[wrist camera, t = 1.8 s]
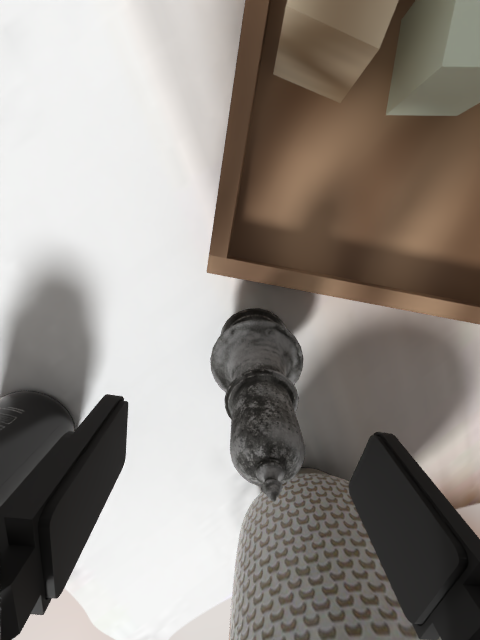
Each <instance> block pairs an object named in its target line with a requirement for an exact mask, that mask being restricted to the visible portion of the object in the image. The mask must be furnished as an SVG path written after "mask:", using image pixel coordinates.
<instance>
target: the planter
mask: <svg viewBox="0 0 480 640" xmlns="http://www.w3.org/2000/svg"><path fill="white" fill-rule="evenodd" d="M349 483H350V482H349V481H347V480H344V479H342V478H339V477H336V476H332V475H329V474H327V473H325V472H323V471H320V470H318V469H313V468H300V470H299V472H298V473H297V474H296V475H295V476H294V478H292V479H291V480H290V481H288V482H286V483H284V484H282V486H283V489H282V491H281V492H280V494H279V496H278V497H277V498H276V501H274V502H273V501H271V499H269V498H268V497H267V496H266V494H265V493H263V492H261V493H260V494H259V495H258V496H257V498H256V499H255V500H254V501H253V503H252V504H251V506H250V507H249V509H248V511H247V513H246V516H245V518H244V521H243V523H242V527H241V531H240V537H239V542H238V549H237V556H236V563H235V573H234V583H233V593H232V603H231V618H230V632H229V640H420V639H419V638H418V636H417V634H416V631H415V629H414V627H413V625H412V623H410V622H409V621H408V620H407V618H406V617H405V615H404V613H403V611H402V609H401V607H400V604H399V602H398V600H397V598H396V596H395V593H394V591H393V589H392V587H391V585H390V582H389V580H388V578H387V576H386V574H385V571H384V569H383V567H382V565H381V563H380V560H379V558H378V556H377V554H376V552H375V549H374V547H373V545H372V543H371V541H370V538H369V536H368V534H367V532H366V530H365V527H364V525H363V523H362V521H361V519H360V516H359V514H358V512H357V510H356V508H355V505H354V503H353V501H352V499H351V497H350V494H349ZM438 640H441V638H440V637H439V639H438Z"/></svg>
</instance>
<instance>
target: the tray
mask: <svg viewBox="0 0 480 640" xmlns="http://www.w3.org/2000/svg"><path fill="white" fill-rule="evenodd" d="M287 1H288V0H245V7H244V14H243V21H242V28H241V35H240V42H239V49H238V56H237V63H236V70H235V77H234V84H233V91H232V98H231V105H230V112H229V119H228V126H227V133H226V140H225V147H224V154H223V161H222V168H221V175H220V182H219V189H218V196H217V203H216V210H215V217H214V224H213V231H212V238H211V245H210V252H209V259H208V266H207V273H212V274H217V275H222V276H228V277H233V278H238V279H244V280H249V281H254V282H259V283H265V284H270V285H275V286H280V287H286V288H291V289H296V290H301V291H307V292H312V293H317V294H323V295H328V296H333V297H338V298H344V299H349V300H354V301H359V302H365V303H370V304H375V305H380V306H386V307H391V308H396V309H402V310H407V311H412V312H417V313H423V314H428V315H433V316H438V317H444V318H449V319H454V320H459V321H465V322H470V323H475V324H480V103H478V104H477V105H475V106H473V107H472V108H470V109H468V110H466V111H465V112H463V113H461V114H459V115H458V116H418V115H386V110H387V104H388V98H389V92H390V86H391V80H392V74H393V68H394V62H395V56H396V50H397V44H398V38H399V32H400V26H401V20H402V18H403V17H404V16H405V14H406V13H407V11H408V10H409V9H410V7H411V6H412V5H413V3H414V2H415V0H399V1H398V3H397V6H396V8H395V11H394V13H393V16H392V18H391V21H390V23H389V26H388V28H387V31H386V33H385V36H384V38H383V41H382V44H381V46H380V49H379V50H378V52H377V53H376V54H375V56H374V57H373V58H372V60H371V61H370V63H369V64H368V65H367V67H366V68H365V70H364V71H363V72H362V74H361V75H360V77H359V78H358V79H357V81H356V82H355V83H354V85H353V86H352V88H351V89H350V90H349V92H348V93H347V95H346V96H345V97H344V99H343V100H342V101H341V103H339V102H336V101H334V100H332V99H329V98H327V97H325V96H322V95H320V94H318V93H315V92H313V91H311V90H308V89H306V88H304V87H301V86H299V85H297V84H295V83H292V82H290V81H288V80H285V79H283V78H281V77H278V76H276V75H274V74H273V72H274V66H275V61H276V56H277V51H278V45H279V40H280V35H281V30H282V24H283V19H284V14H285V8H286V4H287Z"/></svg>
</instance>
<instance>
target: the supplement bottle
mask: <svg viewBox="0 0 480 640" xmlns="http://www.w3.org/2000/svg"><path fill="white" fill-rule="evenodd" d="M68 431H74V423H73V420H72V418H71V416H70V414H69V412H68V411H67V410H66V409H65V407H64V406H63V405H61V404H60V403H59V402H58V401H56V400H55V399H53V398H51V397H49V396H47V395H44V394H41V393H37V392H31V391H20V392H14V393H10V394H7V395H5V396H3V397H1V398H0V507H1V506H2V504H3V503H4V502H5V501H6V500H7V499H8V498H9V496H10V495H11V494H12V493H13V492H14V491H15V489H16V488H17V487H18V486H19V485H20V484H21V483H22V481H23V480H24V479H25V478H26V477H27V476H28V475H29V473H30V472H31V471H32V470H33V469H34V468H35V467H36V465H37V464H38V463H39V462H40V461H41V460H42V459H43V457H44V456H45V455H46V454H47V453H48V452H49V451H50V449H51V448H52V447H53V446H54V445H55V444H56V443H57V441H58V440H59V439H60V438H61V437H62V436H63V435H64V434H65V433H66V432H68Z"/></svg>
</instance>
